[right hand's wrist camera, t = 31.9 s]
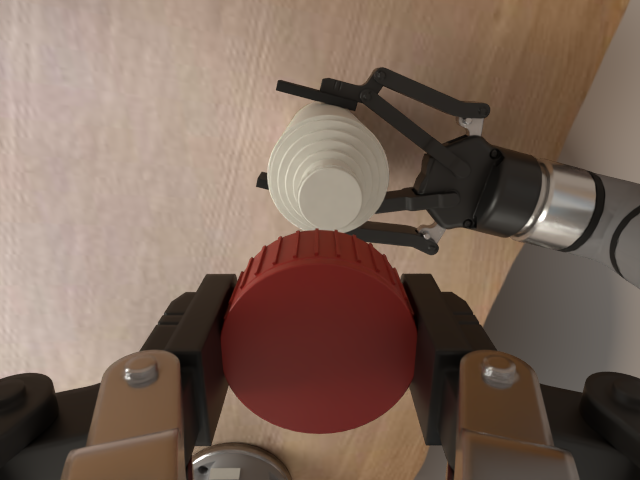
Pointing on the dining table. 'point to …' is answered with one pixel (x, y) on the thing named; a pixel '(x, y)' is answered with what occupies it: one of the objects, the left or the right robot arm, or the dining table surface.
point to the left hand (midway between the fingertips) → (268, 133)
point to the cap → (319, 333)
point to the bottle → (327, 170)
